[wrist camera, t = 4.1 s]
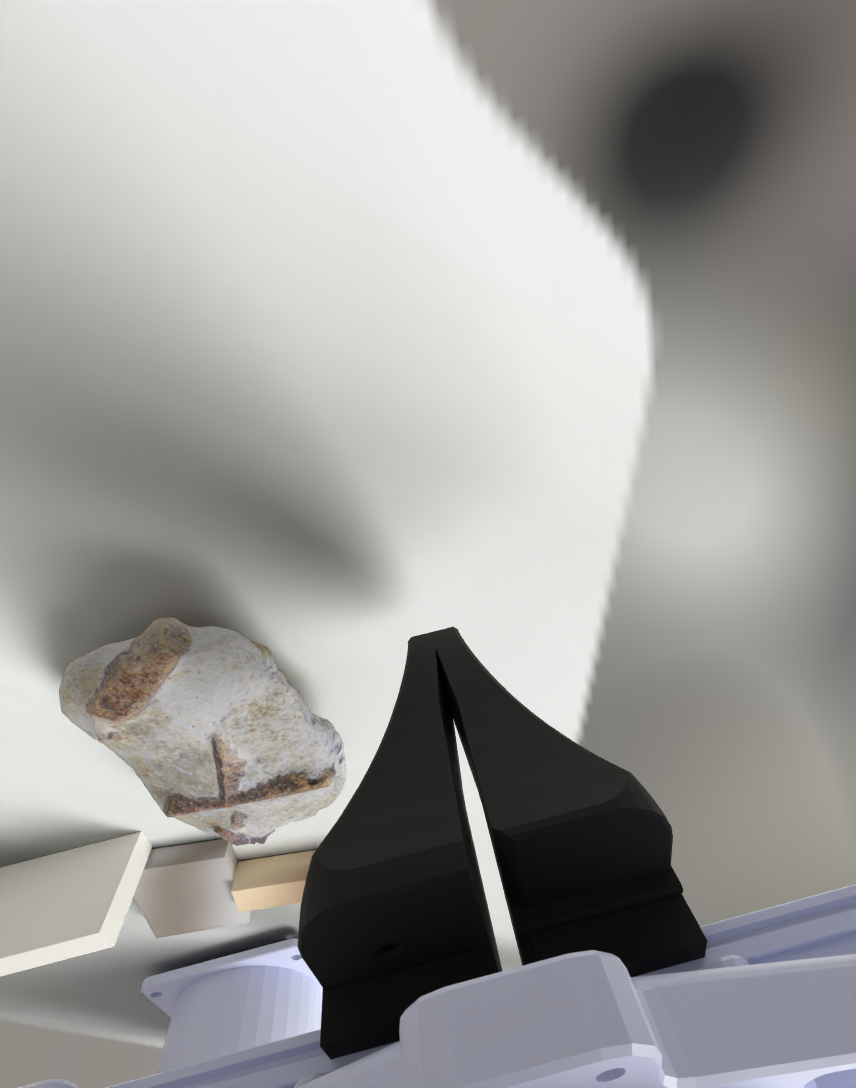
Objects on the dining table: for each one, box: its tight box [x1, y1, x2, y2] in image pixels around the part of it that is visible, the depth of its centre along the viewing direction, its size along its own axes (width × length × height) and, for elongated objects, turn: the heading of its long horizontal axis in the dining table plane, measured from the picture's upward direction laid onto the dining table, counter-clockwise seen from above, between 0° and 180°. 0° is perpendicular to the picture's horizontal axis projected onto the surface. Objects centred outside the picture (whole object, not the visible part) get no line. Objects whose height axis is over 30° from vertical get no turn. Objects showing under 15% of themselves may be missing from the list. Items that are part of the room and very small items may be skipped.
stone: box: [59, 617, 346, 846], centre depth 15 cm, size 10×7×3 cm
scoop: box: [133, 839, 316, 938], centre depth 21 cm, size 12×5×1 cm, turn 92°
